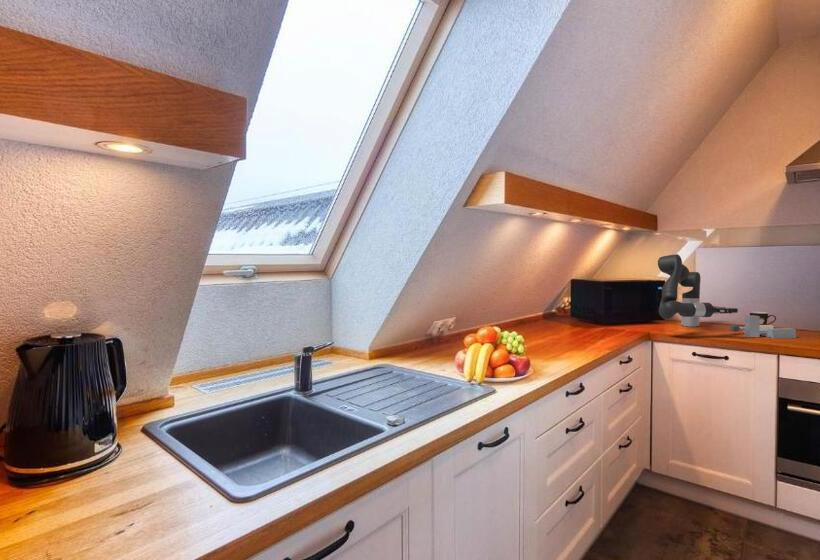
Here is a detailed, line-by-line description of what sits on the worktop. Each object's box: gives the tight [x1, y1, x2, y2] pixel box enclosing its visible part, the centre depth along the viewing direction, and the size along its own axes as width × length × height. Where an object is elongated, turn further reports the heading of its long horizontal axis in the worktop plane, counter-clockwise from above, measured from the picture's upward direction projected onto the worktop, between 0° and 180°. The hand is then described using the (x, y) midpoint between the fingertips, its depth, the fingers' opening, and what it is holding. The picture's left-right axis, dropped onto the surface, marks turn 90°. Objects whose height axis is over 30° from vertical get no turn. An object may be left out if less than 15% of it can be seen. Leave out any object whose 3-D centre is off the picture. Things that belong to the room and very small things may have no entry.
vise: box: [742, 327, 797, 339], centre depth 241 cm, size 20×12×4 cm, turn 2°
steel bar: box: [744, 315, 761, 338], centre depth 236 cm, size 4×5×11 cm
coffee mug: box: [749, 311, 777, 325], centre depth 260 cm, size 12×9×10 cm
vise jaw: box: [729, 324, 775, 333], centre depth 247 cm, size 3×22×3 cm, turn 92°
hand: (731, 309), depth 235 cm, fingers open, 8 cm apart
